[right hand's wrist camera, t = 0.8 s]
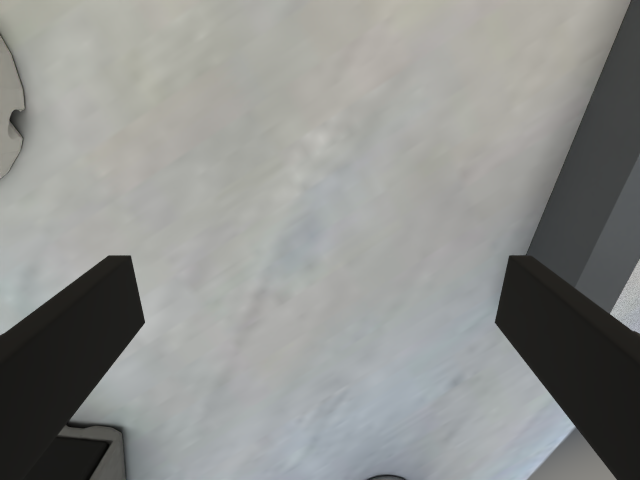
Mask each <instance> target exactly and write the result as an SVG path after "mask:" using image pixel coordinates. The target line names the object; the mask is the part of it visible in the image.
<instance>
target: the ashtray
mask: <svg viewBox="0 0 640 480" xmlns="http://www.w3.org/2000/svg"><path fill="white" fill-rule="evenodd" d="M16 109H17V110H19V111H20V112H21V111H22V110H24V109H25V107H24V96H23V88H22V85H21V82H20V79H19V76H18V73H17V70H16V67H15V64H14V61H13V58H12V55H11V53H10V52H9V50H8V48H7V46H6V45H5V43H4V41H3V39H2V38H1V36H0V179H1V178H2V177H3V176H4V175H5V174H7V173H8V171H9V170H10V168H11V166H12V164H13V163H14V161H15V159H16V157H17V156H18V154H19V152H20V150H21V145H22V140H23V138H22V136H21V135H20V134H19V132H18V131H17V130H16V129H15V127H14V126H13V125H12V123H11V122H10V121H9V119H10V115H11V113H12V112H13V111H14V110H16Z"/></svg>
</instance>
